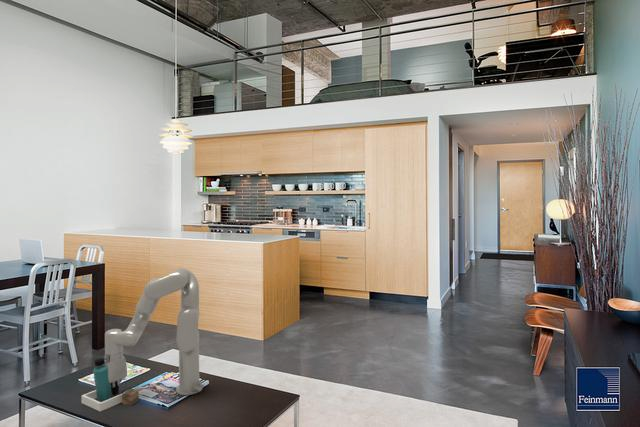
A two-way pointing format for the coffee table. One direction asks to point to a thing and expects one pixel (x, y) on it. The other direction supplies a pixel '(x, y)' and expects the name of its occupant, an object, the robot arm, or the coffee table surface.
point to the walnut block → (130, 397)
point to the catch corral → (100, 406)
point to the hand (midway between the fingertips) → (114, 394)
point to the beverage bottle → (102, 380)
